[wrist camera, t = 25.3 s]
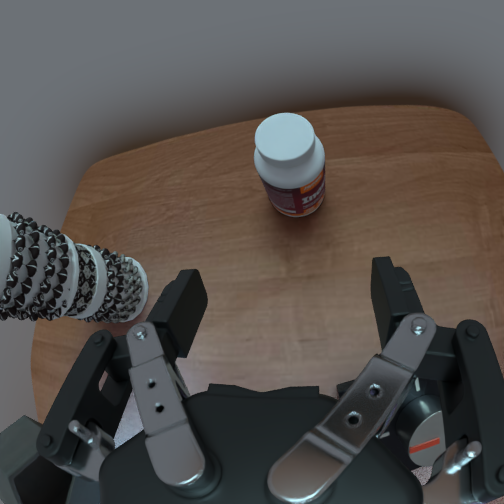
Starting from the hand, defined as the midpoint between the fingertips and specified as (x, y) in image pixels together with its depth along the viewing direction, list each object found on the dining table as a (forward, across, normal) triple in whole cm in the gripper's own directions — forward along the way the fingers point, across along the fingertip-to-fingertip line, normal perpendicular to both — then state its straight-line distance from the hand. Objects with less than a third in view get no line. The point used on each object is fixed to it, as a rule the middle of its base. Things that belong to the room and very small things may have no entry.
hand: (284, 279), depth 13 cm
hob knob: (0, -12, +19) cm, 22 cm away
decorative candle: (+13, +22, +11) cm, 28 cm away
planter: (-8, +34, +32) cm, 47 cm away
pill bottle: (+20, 0, +4) cm, 20 cm away
